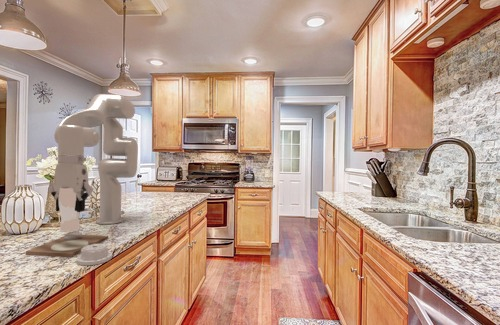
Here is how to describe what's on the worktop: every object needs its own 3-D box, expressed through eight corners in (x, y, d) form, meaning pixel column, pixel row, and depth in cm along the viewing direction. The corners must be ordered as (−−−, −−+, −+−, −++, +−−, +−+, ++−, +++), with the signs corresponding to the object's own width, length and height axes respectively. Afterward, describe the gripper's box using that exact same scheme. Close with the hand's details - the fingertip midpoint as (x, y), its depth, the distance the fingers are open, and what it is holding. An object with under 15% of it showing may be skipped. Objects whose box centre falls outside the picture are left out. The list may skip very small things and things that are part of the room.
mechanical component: (68, 264, 83) (96, 268, 81) (68, 250, 83) (96, 253, 81) (93, 253, 92) (118, 256, 90) (93, 240, 92) (119, 243, 90)
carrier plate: (70, 236, 109) (70, 231, 109) (108, 238, 108) (108, 232, 108) (25, 254, 89) (25, 247, 89) (71, 257, 88) (71, 249, 88)
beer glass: (67, 226, 99) (67, 186, 98) (86, 227, 98) (86, 186, 98) (53, 232, 92) (53, 188, 91) (72, 232, 91) (73, 188, 91)
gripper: (101, 160, 98) (100, 209, 98) (56, 159, 99) (55, 208, 99) (87, 161, 90) (86, 214, 91) (38, 159, 91) (38, 212, 92)
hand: (70, 210), depth 95 cm, fingers closed on beer glass, 6 cm apart
